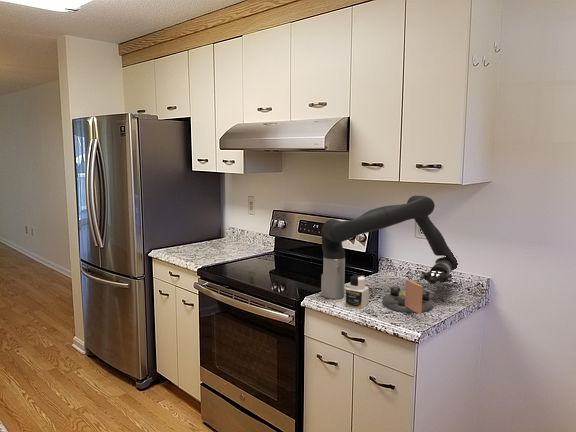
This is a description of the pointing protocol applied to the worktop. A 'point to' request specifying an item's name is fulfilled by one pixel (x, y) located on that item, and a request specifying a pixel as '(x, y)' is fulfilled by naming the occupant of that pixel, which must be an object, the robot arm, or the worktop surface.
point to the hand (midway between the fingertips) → (432, 281)
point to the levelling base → (392, 303)
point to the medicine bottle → (357, 292)
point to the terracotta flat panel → (412, 296)
